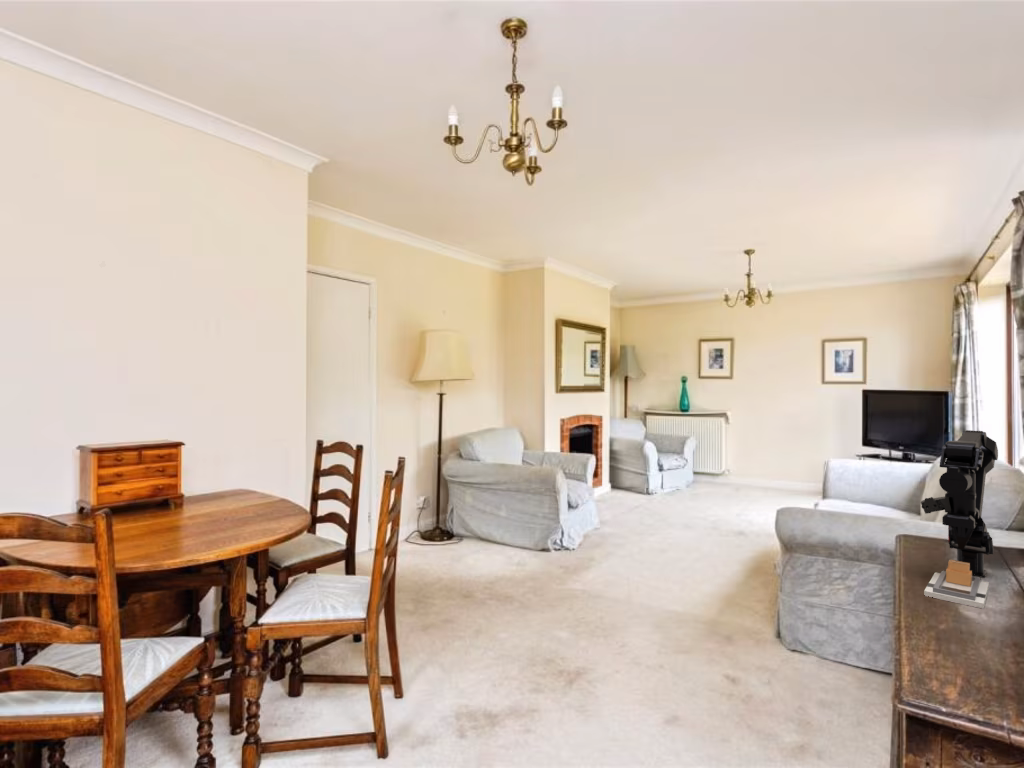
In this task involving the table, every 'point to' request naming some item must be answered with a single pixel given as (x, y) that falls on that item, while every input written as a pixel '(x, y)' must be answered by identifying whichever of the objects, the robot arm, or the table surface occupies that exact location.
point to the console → (958, 590)
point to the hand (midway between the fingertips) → (961, 548)
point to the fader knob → (959, 573)
